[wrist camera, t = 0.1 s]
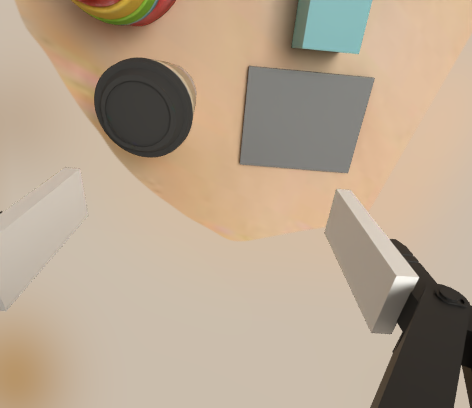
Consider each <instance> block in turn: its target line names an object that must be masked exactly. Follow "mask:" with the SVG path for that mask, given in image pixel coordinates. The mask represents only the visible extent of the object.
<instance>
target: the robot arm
mask: <svg viewBox="0 0 472 408" xmlns="http://www.w3.org/2000/svg"><path fill="white" fill-rule="evenodd" d="M87 217H88V211H87V205H86V199H85V193H84V187H83V181H82V175H81V170H80V169H79V168H67V167H65V168H63V169H62V170H60V171H59V172H58V173H56V174H55V175H53V176H52V177H51V178H49V179H48V180H47V181H45V182H44V183H42V184H41V185H40V186H39V187H37V188H35V189H34V190H33V191H31V192H30V193H29V194H27V195H26V196H24V197H23V198H22V199H20V200H19V201H17V202H16V203H15V204H13V205H12V206H11V207H9V208H8V209H6V210H5V211H4V212H2V211H1V212H0V311H7V309H8V308H9V307H10V306H11V305H12V304H13V302H14V301H15V300H16V299H17V298H18V297H19V295H20V294H21V293H22V292H23V291H24V290H25V289H26V287H27V286H28V285H29V284H30V283H31V282H32V280H33V279H34V278H35V277H36V276H37V275H38V274H39V272H40V271H41V270H42V269H43V268H44V267H45V265H46V264H47V263H48V262H49V261H50V259H51V258H52V257H53V256H54V255H55V254H56V252H57V251H58V250H59V249H60V248H61V247H62V246H63V244H64V243H65V242H66V241H67V240H68V239H69V237H70V236H71V235H72V234H73V233H74V232H75V230H76V229H77V228H78V227H79V226H80V225H81V224H82V222H83V221H84V220H85V219H86V218H87ZM324 233H325V235H326V237H327V239H328V242H329V244H330V246H331V248H332V250H333V252H334V254H335V257H336V259H337V261H338V263H339V265H340V267H341V269H342V271H343V274H344V276H345V278H346V280H347V282H348V284H349V287H350V288H351V291H352V293H353V295H354V297H355V299H356V301H357V303H358V306H359V308H360V310H361V312H362V314H363V316H364V318H365V321H366V323H367V325H368V327H369V329H370V331H371V333H381V334H392V332H393V330H394V328H395V326H396V324H397V323H398V325H399V326H400V328H401V330H402V331H403V332H402V334H401V336H400V338H399V340H398V342H397V344H396V346H395V348H394V350H393V355H392V357H391V360H390V362H389V364H388V367H387V369H386V372H385V374H384V376H383V379H382V381H381V383H380V386H379V388H378V391H377V393H376V395H375V398H374V400H373V402H372V405H371V407H370V408H454V403H455V397H456V391H457V385H458V380H459V374H460V368H461V365H462V369H463V373H464V378H465V383H466V388H467V394H468V398H469V404H470V408H472V306H471V305H470V303H469V302H468V300H467V299H466V298H465V297H464V296H463V295H461V294H460V293H459V292H457V291H456V290H454V289H452V288H450V287H447V286H445V285H441V284H437V283H436V282H435V280H434V279H433V278H432V277H431V276H430V275H429V273H428V272H427V271H426V270H425V268H424V267H423V266H422V265H421V264H420V263H419V262H418V260H417V259H416V258H415V257H414V256H413V254H412V253H411V252H410V251H409V249H408V248H407V247H406V246H404V245H403V244H402V243H400V242H399V241H397V240H396V239H389V238H388V237H387V236H386V234H385V233H384V232H383V231H382V229H381V228H380V227H379V225H378V224H377V223H376V222H375V220H374V219H373V218H372V217H371V215H370V214H369V213H368V211H367V210H366V209H365V208H364V206H363V205H362V204H361V203H360V201H359V200H358V199H357V197H356V196H355V195H354V194H353V192H352V191H351V190H344V189H336V192H335V195H334V199H333V203H332V207H331V210H330V214H329V218H328V221H327V225H326V229H325V232H324Z"/></svg>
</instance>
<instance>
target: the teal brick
mask: <svg viewBox="0 0 472 408" xmlns="http://www.w3.org/2000/svg"><path fill="white" fill-rule="evenodd" d="M371 3H372V0H299V1H298V7H297V14H296V20H295V27H294V33H293V40H292V46H291V48H301V49H311V50H321V51H332V52H342V53H354V54H359V51H360V47H361V43H362V39H363V35H364V31H365V27H366V23H367V19H368V15H369V11H370V7H371Z"/></svg>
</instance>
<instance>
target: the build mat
mask: <svg viewBox="0 0 472 408" xmlns="http://www.w3.org/2000/svg"><path fill="white" fill-rule="evenodd" d="M374 79H375V78H372V77H361V76H351V75H340V74H330V73H319V72H309V71H298V70H287V69H277V68H266V67H256V66H249V72H248V83H247V93H246V103H245V114H244V124H243V134H242V145H241V155H240V164H242V165H255V166H267V167H279V168H292V169H304V170H316V171H329V172H341V173H348V171H349V168H350V164H351V160H352V157H353V153H354V150H355V146H356V143H357V139H358V136H359V132H360V129H361V125H362V121H363V118H364V114H365V111H366V107H367V104H368V100H369V97H370V93H371V90H372V86H373V82H374Z"/></svg>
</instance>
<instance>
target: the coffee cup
mask: <svg viewBox="0 0 472 408" xmlns="http://www.w3.org/2000/svg"><path fill="white" fill-rule="evenodd" d="M94 104H95V110H96V114H97V117H98V120H99V122H100V124H101V126H102V128H103V129H104V131H105V132H106V134H107V135H108V136H109V137H110V138H111V139H112V140H113V141H114V142H115V143H116V144H117V145H118V146H120V147H121V148H123V149H124V150H126V151H128V152H130V153H132V154H135V155H138V156H142V157H159V156H163V155H166V154H168V153H170V152H172V151H174V150H175V149H176V148H177V147H178V146H180V145H181V144H182V142H183V141H184V140H185V139H186V137H187V135H188V133H189V131H190V129H191V125H192V120H193V114H194V110H195V105H196V88H195V84H194V82H193V80H192V78H191V76H190V75H189V74H188V73H187V72H186V71H185V70H184V69H182V68H181V67H179V66H177V65H174V64H171V63H168V62H164V61H158V60H152V59H147V58H130V59H126V60H123V61H120V62H118V63H116V64H115V65H113V66H111V67H110V68H108V69H107V70H106V71H105V72H104V73H103V74H102V76H101V77H100V79H99V81H98V83H97V86H96V89H95V95H94Z"/></svg>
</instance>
